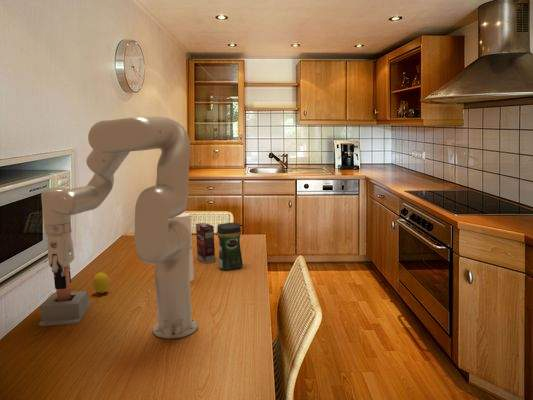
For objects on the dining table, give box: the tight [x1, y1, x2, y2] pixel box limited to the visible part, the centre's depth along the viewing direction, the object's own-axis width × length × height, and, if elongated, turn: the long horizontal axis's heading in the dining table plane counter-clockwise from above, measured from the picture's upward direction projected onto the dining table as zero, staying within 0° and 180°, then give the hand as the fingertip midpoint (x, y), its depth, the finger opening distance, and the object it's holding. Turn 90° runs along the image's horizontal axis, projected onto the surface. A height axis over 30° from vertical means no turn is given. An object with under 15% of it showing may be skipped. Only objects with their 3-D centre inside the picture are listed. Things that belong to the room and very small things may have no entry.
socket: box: [38, 290, 92, 327], centre depth 146 cm, size 16×11×5 cm
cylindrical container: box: [170, 212, 195, 282], centre depth 174 cm, size 7×7×25 cm
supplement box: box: [195, 222, 216, 264], centre depth 200 cm, size 9×5×16 cm, turn 33°
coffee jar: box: [216, 221, 244, 271], centre depth 189 cm, size 10×8×19 cm
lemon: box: [92, 271, 110, 295], centre depth 163 cm, size 6×6×8 cm
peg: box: [55, 264, 72, 301], centre depth 144 cm, size 4×4×12 cm
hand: (63, 285), depth 145 cm, fingers closed on peg, 4 cm apart
